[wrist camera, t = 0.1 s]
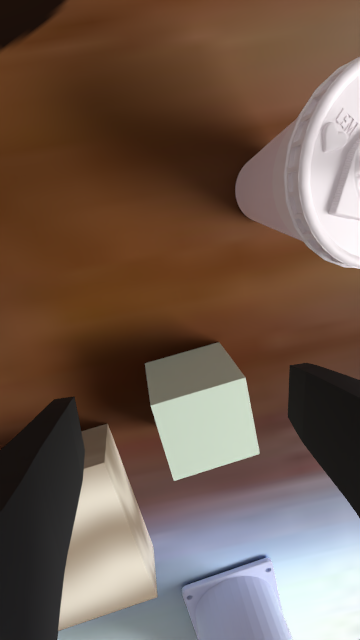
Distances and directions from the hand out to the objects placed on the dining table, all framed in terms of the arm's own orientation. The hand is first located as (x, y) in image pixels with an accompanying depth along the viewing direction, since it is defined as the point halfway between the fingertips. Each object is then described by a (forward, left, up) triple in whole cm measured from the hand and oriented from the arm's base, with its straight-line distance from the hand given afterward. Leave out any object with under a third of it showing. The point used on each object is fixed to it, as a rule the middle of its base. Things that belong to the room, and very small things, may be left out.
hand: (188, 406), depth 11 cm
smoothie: (+6, -8, -10) cm, 14 cm away
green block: (-5, -1, -10) cm, 11 cm away
